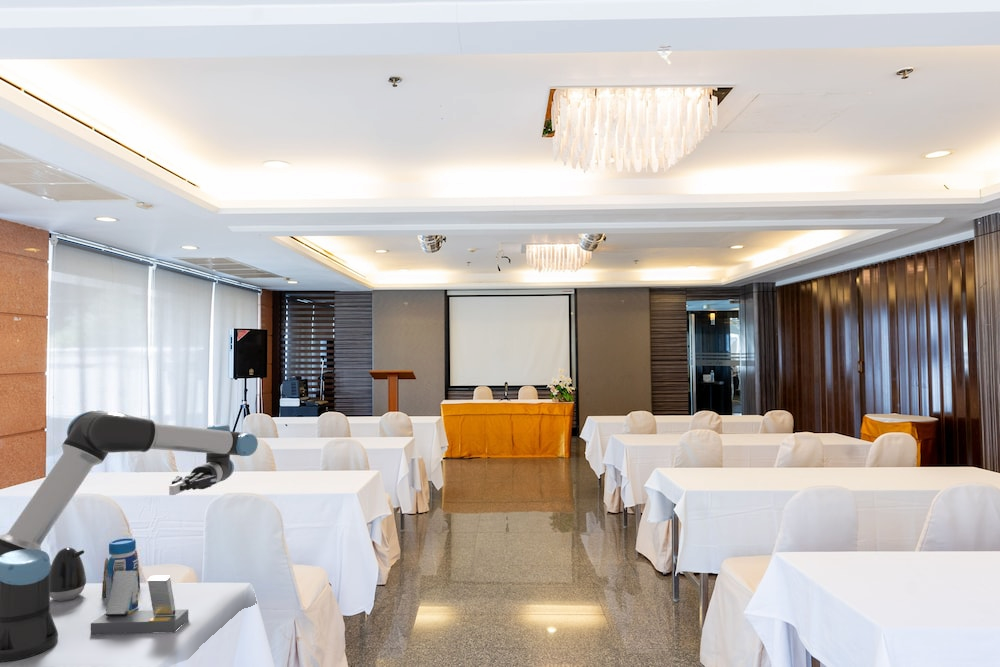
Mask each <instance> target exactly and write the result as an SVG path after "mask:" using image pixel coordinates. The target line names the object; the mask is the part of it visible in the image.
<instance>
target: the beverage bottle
mask: <svg viewBox="0 0 1000 667" xmlns="http://www.w3.org/2000/svg"><path fill="white" fill-rule="evenodd" d="M136 543H137V542H136V538H133V537H132V538H131V537H126V538H117V539H113V540H111V541H110V542H109V543H108V554H109V556H110V557H109V559H108V562H107V565H106V569H107V573H106V575H105V579H106V599H105V612H106V611H107V607H108V602H109V598H110V593H111V589H112V585H113V580H114V576H115V572H116V571H137V574H136V578H135V583H134V588H133V592H132V597H131V602H130V606H129V610H133V611H137V609H138V608H139V589H138V575H139V576H140V569H138V567H137V565H138V564H139V558H138V559H137V557H136V555H135V554H134V552H135V550H136V548H137V547H136V545H137V544H136Z"/></svg>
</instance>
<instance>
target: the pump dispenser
mask: <svg viewBox="0 0 1000 667" xmlns="http://www.w3.org/2000/svg"><path fill="white" fill-rule="evenodd" d="M84 554H85V550H83V549H82V550H79V551H77V550H76V549H75V548H73V547H65V548H62V549H61V550H59V551H58V552H57V553H56V555H55V557H54V558H53V560H52V562H51V564H50V565H51V570H50V599H52V600H54V601H57V602H65V601H71V600H73V599H75V598H77V597H78V596H79V595H81V594H82V592H83V591H84V589H85V587H86V586H85V585H86V584H87V575H86V571H85V566H84V563H83V561H82V558H81V555H84Z"/></svg>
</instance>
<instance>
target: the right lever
mask: <svg viewBox="0 0 1000 667" xmlns="http://www.w3.org/2000/svg"><path fill="white" fill-rule="evenodd" d="M147 585H148V589H149V590H148V591H149V596H150V597H149V598H150V602H151V607H152V610H153V614H154V616H163V615H175V610H176V606H175V605H176V604H175V598H174V594H173V588H172V580H171V575H151V576H150V577H149V578H148V579H147Z"/></svg>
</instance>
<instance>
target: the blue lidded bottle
mask: <svg viewBox="0 0 1000 667" xmlns="http://www.w3.org/2000/svg"><path fill="white" fill-rule="evenodd" d="M133 553H134V554H135V555H136V557H137V559H138V560H139V558H138V557H139V555H138V552H137V550H136V549H135V551H134V552H133ZM108 560H109V559H108V558H107V557H105V560H104V565H103V566H104V568H103V569H104V570H103V580H102V591H101V599H104V598H106V579H105V575H106V573H107V569H106V565H107V562H108ZM139 565H140V564H139V563H138V565H137V567H138V569H139V568H140V567H139ZM139 570H140V569H139ZM140 581H141V580H140V574H139V575H138V590H139V589H140V588H141V582H140Z"/></svg>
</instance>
